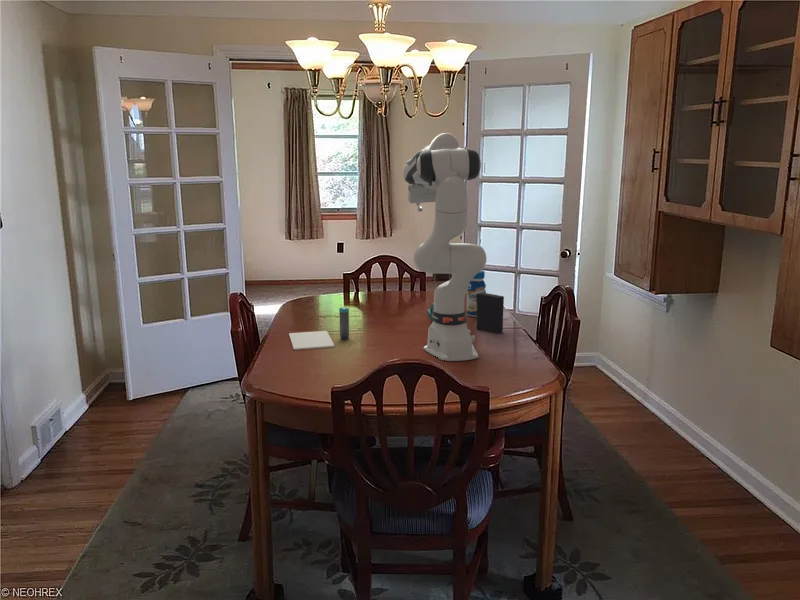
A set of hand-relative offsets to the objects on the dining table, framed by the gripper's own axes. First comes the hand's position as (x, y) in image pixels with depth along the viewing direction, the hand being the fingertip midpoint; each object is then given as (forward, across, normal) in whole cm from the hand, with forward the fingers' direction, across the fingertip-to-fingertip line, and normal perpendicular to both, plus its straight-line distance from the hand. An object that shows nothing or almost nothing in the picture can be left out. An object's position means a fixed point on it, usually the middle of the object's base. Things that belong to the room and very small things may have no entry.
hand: (430, 210), depth 279 cm
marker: (+27, -45, -48) cm, 71 cm away
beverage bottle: (+41, +17, -26) cm, 51 cm away
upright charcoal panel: (+31, +14, -50) cm, 60 cm away
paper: (+26, -58, -49) cm, 80 cm away
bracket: (+40, -1, -26) cm, 47 cm away
